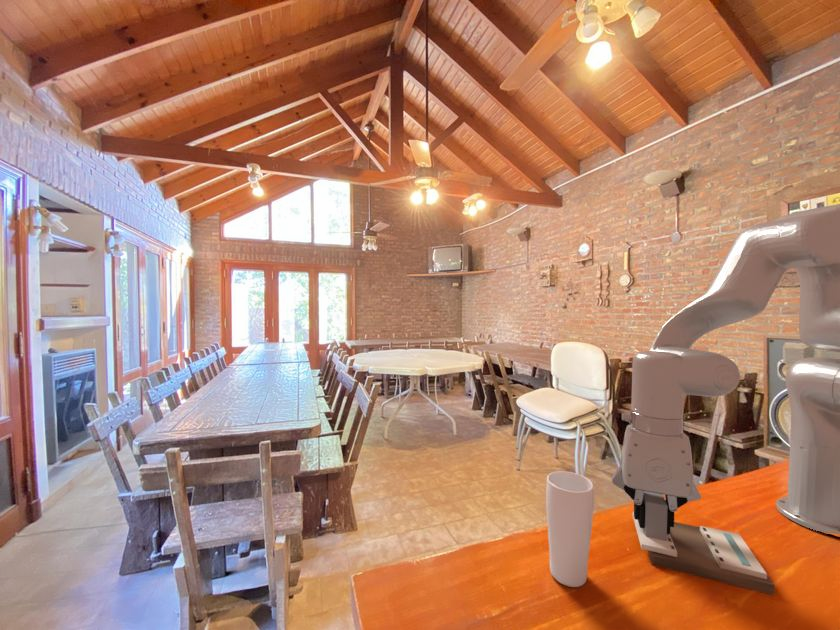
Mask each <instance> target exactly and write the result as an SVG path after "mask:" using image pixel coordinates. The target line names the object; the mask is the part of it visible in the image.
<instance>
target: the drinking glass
mask: <svg viewBox="0 0 840 630" xmlns="http://www.w3.org/2000/svg"><path fill="white" fill-rule="evenodd" d="M594 493H595V492H594V483H593V482H592V481H591V480H590V479H589V478H587V477H585V476H584V475H581V474H579V473H575V472H572V471H565V470H556V471H553V472H550V473H549V474H547V476H546V488H545V511H546V520H547V521H546V523H547V524H546V525H547V537H548V549H549V551H548V552H549V570H550V574H551V576H552V577H553V578H554V579H555V580H556V581H557V582H558V583H560V584H562V585H564V586H566V587H569V588H570V587H571V588H578V587H582V586H583V585H584V584H586V582H587V578H588V562H589V555H590V545H591V537H592V529H593V522H594V521H593V520H594V510H595V509H594V508H595V495H594Z"/></svg>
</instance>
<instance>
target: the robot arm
mask: <svg viewBox="0 0 840 630" xmlns="http://www.w3.org/2000/svg"><path fill="white" fill-rule="evenodd" d="M790 269H794V271H795V273H796V274H797V277H798V281H799V302H798V303H799V306H798V307H799V308H798V309H799V310H798V333H799V334H798V335H799V338H800V340H801V342H802V343H803V344H804V345H805V346H807V347H809V348H812V349H815V350H820V351H826V352H833V353H834V352H835V353H840V203H837V204H832V205H826V206H820V207H816V208H809V209H806V210H804V209H803V210H801V211H797V212H793V213H789V214H786V215H785V214H784V216H781V217H779V218H776V219H774V220H773V221H767V222H762V223H757V224H755V225H752V226H749V227H747V228H745V229H744V230H742V231H741V232H740V233H739V234H738V235H737V236H736V237H735V239H734V241H733V243H732V245H731V246H730V248H729V250H728V252H727V253H726V255H725V257H724V259H723V261H722V263H721V264H720V267H719V269H718V270H717V271H716V274H715V275H714V277H713V278H712V281H711V282H710V284H709V286H708V288H707V289H706V291H705V292H704V293H703V294H702V295H701V296H699V297H697V298H696V299H695V300H693V301H692V302H689V304H688V305H686V306H685V307H683V308H682V309H681V310H679V311H678V312H677V313H676V314H674V315H673V316H672V317H670V319H668V320H667V321H666V322H665V323H664V324H663V326H661V328H660V329H659V331H658V333H657V334H656V336H655V338H654V340H653V342H652V344H651V346H649V350H643V351H638V352H636V353H635V354H634V355H633V357H632V369H631V372H632V373H631V401H630V402H631V404H630V405H631V407H630V410H629V411H628V412H621V420H622V421H625V422H628V423H629V424H628V425H626V428H625V432H624V437H623V441H622V449H621V458H620V459H621V461H620V462H621V463H620V465H619V466H618V468H617V469H616V470H615V472H614V474H613V475H612V476H611V483H612V484H614V485H615V486H616V487H618V488H620V489H621V490H623V491H624V492H625V494H627V496H629V497H630V499H632V500H633V512H634V519H636V520H638V523H639V526H640V528H645V505H644V501H643V493H644V491H647V492H652V493H658V494H662V495H663V496H664V499H665V501H666V504H667V506H668V508H667V534H670V527H674V522H675V513H676V512H678V509H679V508H681V507H682V506H684V505H686V504H687V503H688V502H694V501H698V500H700V499H702V495H701V493H700V492H699V490H698V488H697V486H696V485H695V483H694V469H693V467H694V466H693V455H692V447H691V446H692V445H691V443H690V442H691V441H690V437H689V436H688V435H687V434H686V433H684V431H683V430H684V407H685V406H684V405H685V403H684V402H685V399H684V398H685V396H686V395H689V396H697V397H698V396H699V397H705V398H717V397H722V396H726V395H728V394H730V393H731V392H733V391H734V390H735V389H736V388H737V387H738V386H739V384H740V381H741V371H740V368H739V366H738V365H737V364H736V363H735V362H734V361H733V360H732V359H731V358H729V357H727V356H725V355H723V354H720V353H717V352H713V351H712V352H711V351H705V350H699V349H693V348H691V347H692V346H693V345H694V343H695V342H697V341H698V340H699V339H700V338H701V337H703V336H704V335H706V334H708V333H710V332H713V331H715V330H717V329H719V328H723V327H727V326H729V325H734V324H736V323H739V322H743V321H745V320H748V319H751V318H754V317H756V316H758V315H760V314H761V313H762V312H764V310H766V307H767V305H768V303H769V302H770V300H771V298H772V296H773V294H774V292H775V290H776V288H777V287H778V285H779V283H780V281H781V279H782V277H783V276H784V274H785V272H787V270H790ZM785 385H786V391H787V395H788V400H789V406H790V407H789V408H790V439H789V457H788V458H789V459H788V479H787V480H788V482H787V484H786V485H787V496H783V497H779V498H778V499H777V500H776V508H777V510H778V511H779V512H780V513H781V514H782V515H783V516H785V517H786V518H787V519H789V520H790V521H792V522H795V523H797V524H798V525H800V526H803V527H805V528H807V529H809V528H810V530H812V529H813V530H812V531H815V530H816V531H815V532H817V531H821V532H824V533H835V534H840V359H839V358H833V357H832V358H831V357H819V356H818V357H816V356H815V357H814V356H811V357H804V358H801V359H798V360H795V361H794V362H793V363H792V364H791V365H790V366H789V367H788V368H787V370H786V373H785ZM634 519H633V520H634Z"/></svg>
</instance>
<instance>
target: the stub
mask: <svg viewBox="0 0 840 630" xmlns="http://www.w3.org/2000/svg"><path fill="white" fill-rule="evenodd" d="M643 501H644V505H645V528H640V526H639V523H638V520H636V519H634V511H632V519H633V521H634V522H633V523H634V525H635V529H636V533H637V536H638V541H639V544H640V549H641V550H646V551H648V550H649V551H653V552H657V553H662V554H666V555H670V556H674V557H677V551H676V548H675V546H674V543H673V541H672V538H671V536H670V534H667V508H668V506H667V504H666V501H665V496H664V495H663V494H658V493H652V492H647V491H644V493H643ZM649 551H648V552H649Z"/></svg>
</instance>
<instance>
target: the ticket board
mask: <svg viewBox="0 0 840 630" xmlns="http://www.w3.org/2000/svg"><path fill="white" fill-rule="evenodd" d="M670 536H671V538H672V541H673V543H674V546H675V548H676V551H677V557H674V556H670V555H666V554H662V553H657V552H653V551H649V550H647V551H648V554H649V558H650V561H651V565H652V566H657V567H659V568H665V569H668V570H673V571H676V572H681V573H685V574H688V575H692V576H697V577H700V578H704V579H709V580H712V581H715V582H718V583H719V582H720V583H724V584H728V585H732V586H736V587H740V588H742V589H743V588H744V589H748V590H752V591H756V592H759V593H764V594H767V595H772V596H775V589H776V586H775V584H774V582H773V580H772V579H771V578H770V577H769V575H768V573H767V572H766V570H765V569H764V568H763V566H762V565H761V563H760V562H759V560H758V559H757V558H756V556H755V555H754V553H753V552H752V551H751V549H750V547H749V546H748V545H747V543H746V542H745V540H744V539H743V537H742V536H741V534H740V533H737V532H733V531H727V530H722V529H717V528H713V527H708V526H702V525H699V526H695V525H691V524H687V523H681V522H677V521H674V527H670Z"/></svg>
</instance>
